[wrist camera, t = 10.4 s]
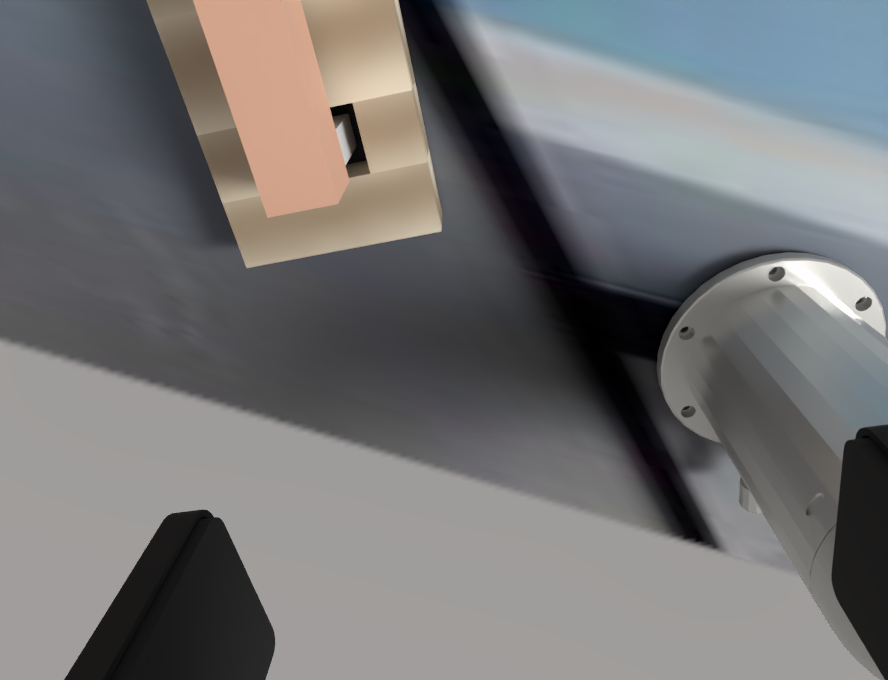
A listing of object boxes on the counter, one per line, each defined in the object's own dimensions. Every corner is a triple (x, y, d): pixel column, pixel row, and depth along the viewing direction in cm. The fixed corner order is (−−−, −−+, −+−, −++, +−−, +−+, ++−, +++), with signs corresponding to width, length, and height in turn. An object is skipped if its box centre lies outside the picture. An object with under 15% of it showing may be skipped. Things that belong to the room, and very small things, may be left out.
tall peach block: (360, 159, 33) (338, 204, 26) (303, 171, 33) (267, 217, 26) (294, -96, 27) (245, -122, 21) (227, -80, 28) (158, -100, 21)
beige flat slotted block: (442, 212, 34) (441, 231, 31) (261, 246, 35) (246, 268, 32) (352, -222, 25) (341, -246, 23) (116, -160, 26) (80, -176, 24)
